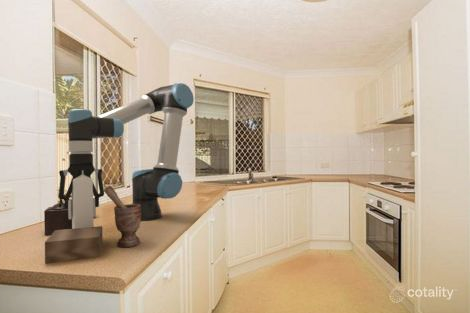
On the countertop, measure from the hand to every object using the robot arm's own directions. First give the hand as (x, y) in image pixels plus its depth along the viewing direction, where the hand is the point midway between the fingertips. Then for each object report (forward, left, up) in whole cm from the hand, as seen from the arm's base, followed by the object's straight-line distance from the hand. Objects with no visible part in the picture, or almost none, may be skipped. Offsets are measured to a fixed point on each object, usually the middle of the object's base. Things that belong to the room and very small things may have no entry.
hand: (82, 217), depth 105 cm
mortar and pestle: (-14, +12, -8) cm, 20 cm away
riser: (0, +14, -8) cm, 16 cm away
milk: (0, 0, -5) cm, 5 cm away
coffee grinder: (+7, -18, -9) cm, 21 cm away
